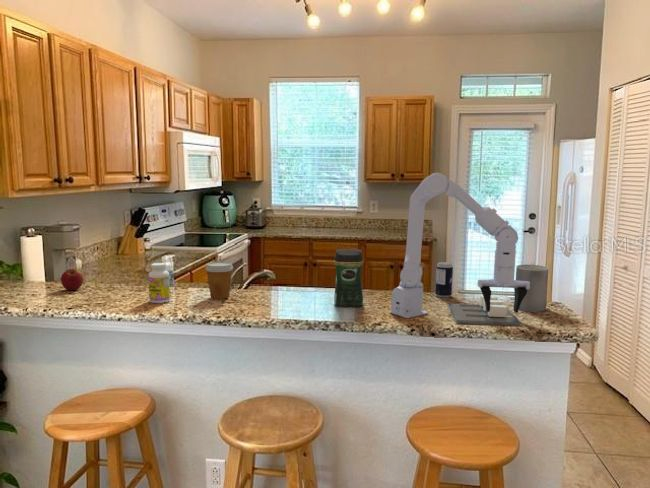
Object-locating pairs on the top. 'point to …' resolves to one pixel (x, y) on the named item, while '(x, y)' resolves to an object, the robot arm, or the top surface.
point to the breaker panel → (479, 315)
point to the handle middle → (492, 303)
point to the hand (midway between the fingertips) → (501, 311)
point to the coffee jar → (348, 278)
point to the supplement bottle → (159, 283)
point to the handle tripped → (498, 311)
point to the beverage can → (444, 279)
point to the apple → (72, 279)
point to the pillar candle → (533, 287)
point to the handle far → (483, 299)
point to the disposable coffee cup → (219, 279)
